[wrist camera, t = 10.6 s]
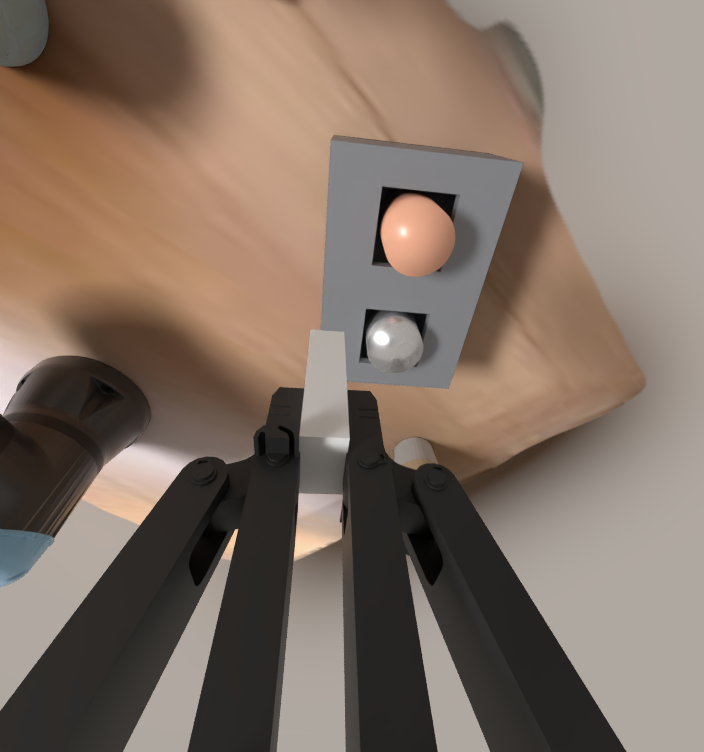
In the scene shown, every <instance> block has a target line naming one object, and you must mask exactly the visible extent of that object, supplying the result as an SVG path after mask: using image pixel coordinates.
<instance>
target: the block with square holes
mask: <svg viewBox="0 0 704 752" xmlns="http://www.w3.org/2000/svg"><path fill="white" fill-rule="evenodd" d="M522 166H523V162H519V161H515V160H512V159H508V158H504V157H500V156H497V155H493V154H489V153H482V152H473V151H465V150H456V149H448V148H439V147H431V146H423V145H414V144H406V143H397V142H389V141H380V140H372V139H363V138H355V137H346V136H338V135H334V136H333V137H332V139H331V145H330V164H329V183H328V203H327V222H326V241H325V260H324V279H323V298H322V317H321V330H323V331H338V332H344V336H345V356H346V376H347V382H359V383H374V384H388V385H402V386H416V387H431V388H445V389H449V386H450V383H451V380H452V377H453V374H454V371H455V368H456V365H457V362H458V359H459V356H460V353H461V350H462V347H463V344H464V341H465V338H466V335H467V332H468V329H469V326H470V323H471V320H472V317H473V314H474V311H475V308H476V305H477V302H478V299H479V296H480V293H481V290H482V287H483V284H484V281H485V278H486V275H487V272H488V269H489V266H490V263H491V260H492V257H493V253H494V250H495V247H496V244H497V241H498V238H499V235H500V232H501V229H502V226H503V223H504V220H505V217H506V214H507V211H508V208H509V205H510V202H511V199H512V196H513V193H514V190H515V187H516V184H517V181H518V178H519V175H520V172H521V169H522ZM399 189H411V190H420V191H423V192H425V193H426V194H427V195H428V196H429V197H430V198H431V199H432V200H433V201H434V202H435V203H436V204H437V205H438V206H439V207H440V208H441V209H442V210H443V211H444V212H445V213H446V214H447V215H448V216H449V217H450V219H451V221H452V222H453V225H454V229H455V244H454V248H453V251H452V253H451V255H450V257H449V258H448V260H447V261H446V262H445V264H444V265H443V266H442V267H440V268H439V269H438V270H436V271H435V272H433V273H431V274H429V275H426V276H421V277H411V276H406V275H403V274H401V273H399V272H398V271H396V270H395V269H394V268H393V267H392V266H391V264H390V263H389V261H388V259H387V257H386V254H385V250H384V247H383V243H382V240H381V236H380V233H379V229H378V214H379V210H380V208H381V206H382V204H383V202H384V201H385V200H386V198H387V197H388V196H389V195H391V194H392V193H393V192H395V191H397V190H399ZM366 309H376V310H388V311H400V312H412V313H413V315H414V318H415V321H416V324H417V327H418V330H419V333H420V336H421V338H422V342H423V353H422V356H421V358H420V360H419V361H418V362H417V364H415V365H414V366H413V367H412V368H410V369H408V370H406V371H404V372H400V373H386V372H383V371H380V370H378V369H377V368H375V367H374V366H373V365H372V364H371V362H370V361H369V359H368V355H367V345H366V334H365V322H364V319H365V312H366Z"/></svg>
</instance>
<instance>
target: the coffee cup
mask: <svg viewBox="0 0 704 752" xmlns="http://www.w3.org/2000/svg"><path fill="white" fill-rule="evenodd" d="M394 461H395V462H396V463H398V464H400V465H403V466H405V467H409V468H412V469H415V470H417V468H418V467H419V466H421V465H423V464H426V463H435V464H438V462H437V459H436V457H435V454H434V452H433V449H432V447H431V445H430V443H429V442H428V441H426V440H425V439H422V438H419V437H411V438H407V439H405V440H403V441H401V442H400V443H398V444H397V445H396V447H395V449H394ZM438 465H439V464H438ZM403 542H404V540H403ZM404 548H405V554H407V555H409V553H408V550H407V548H406V545H405V543H404ZM409 556H410V555H409Z"/></svg>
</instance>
